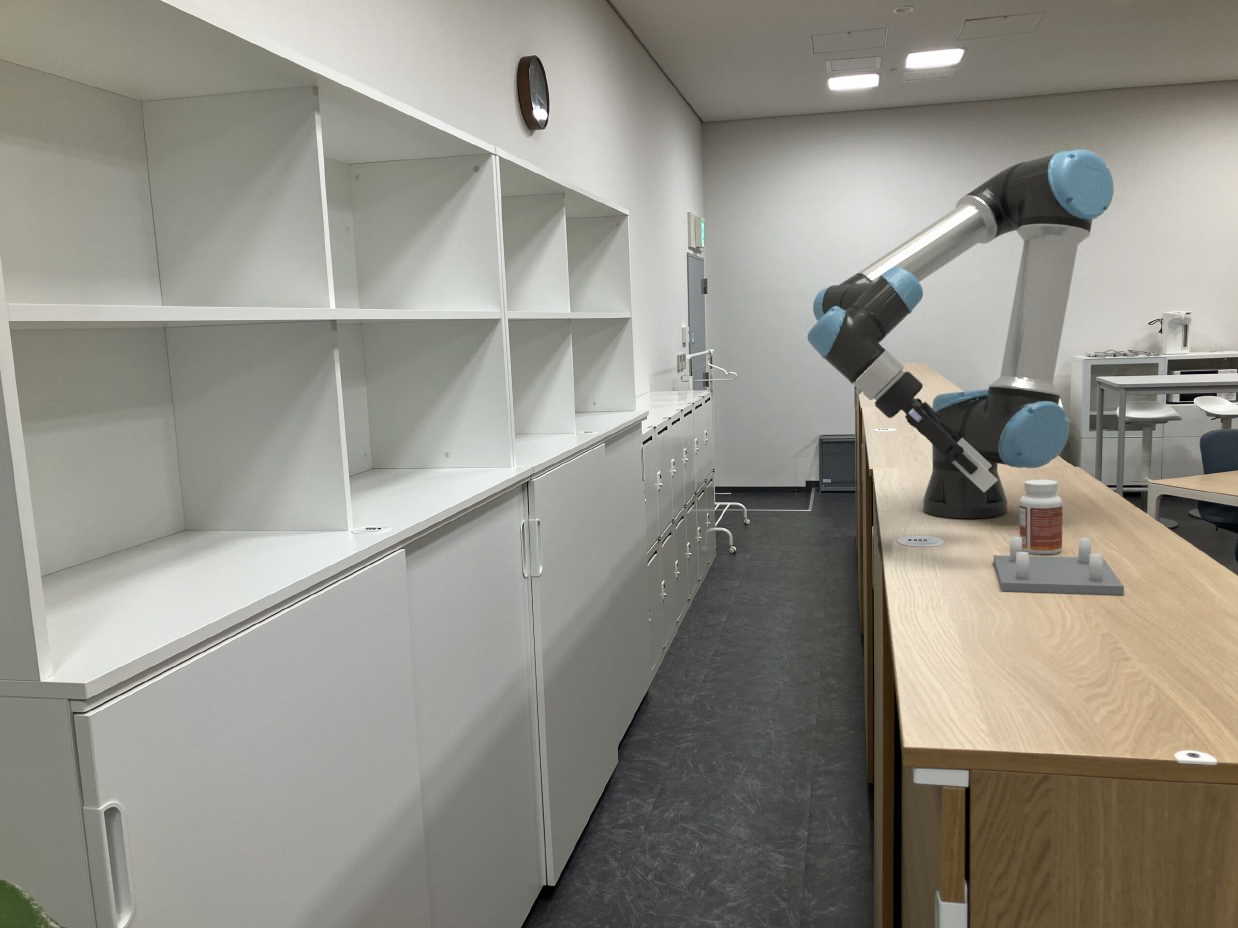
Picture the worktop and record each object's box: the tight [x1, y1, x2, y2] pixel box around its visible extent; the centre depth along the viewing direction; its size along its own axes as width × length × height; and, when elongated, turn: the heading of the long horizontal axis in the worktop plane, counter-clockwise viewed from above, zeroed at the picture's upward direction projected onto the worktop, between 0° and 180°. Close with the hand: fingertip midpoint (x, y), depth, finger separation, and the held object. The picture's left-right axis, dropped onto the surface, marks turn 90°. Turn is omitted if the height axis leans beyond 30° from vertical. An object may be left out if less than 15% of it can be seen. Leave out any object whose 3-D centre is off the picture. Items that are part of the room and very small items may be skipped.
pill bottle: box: [1019, 479, 1063, 555], centre depth 147 cm, size 6×6×11 cm
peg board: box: [993, 536, 1125, 596], centre depth 132 cm, size 15×15×5 cm
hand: (988, 478), depth 148 cm, fingers open, 13 cm apart
